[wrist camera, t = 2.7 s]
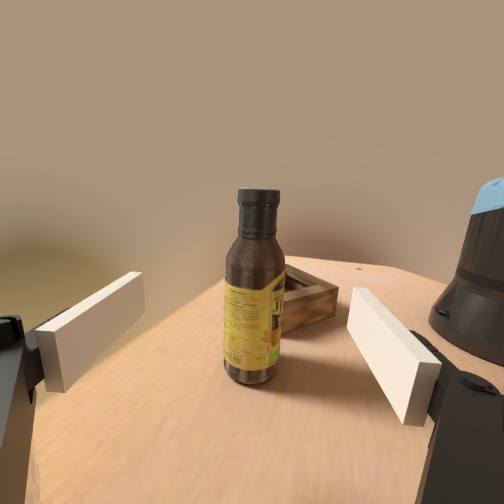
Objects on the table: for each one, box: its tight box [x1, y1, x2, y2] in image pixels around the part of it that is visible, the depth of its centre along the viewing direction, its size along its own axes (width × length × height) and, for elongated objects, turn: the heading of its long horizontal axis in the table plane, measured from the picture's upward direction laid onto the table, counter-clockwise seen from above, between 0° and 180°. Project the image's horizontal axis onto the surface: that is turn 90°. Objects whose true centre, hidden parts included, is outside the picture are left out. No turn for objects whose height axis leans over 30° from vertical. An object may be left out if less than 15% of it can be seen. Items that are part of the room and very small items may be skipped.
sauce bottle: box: [223, 187, 286, 384], centre depth 26 cm, size 6×6×20 cm
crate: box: [281, 264, 339, 333], centre depth 42 cm, size 13×13×5 cm
